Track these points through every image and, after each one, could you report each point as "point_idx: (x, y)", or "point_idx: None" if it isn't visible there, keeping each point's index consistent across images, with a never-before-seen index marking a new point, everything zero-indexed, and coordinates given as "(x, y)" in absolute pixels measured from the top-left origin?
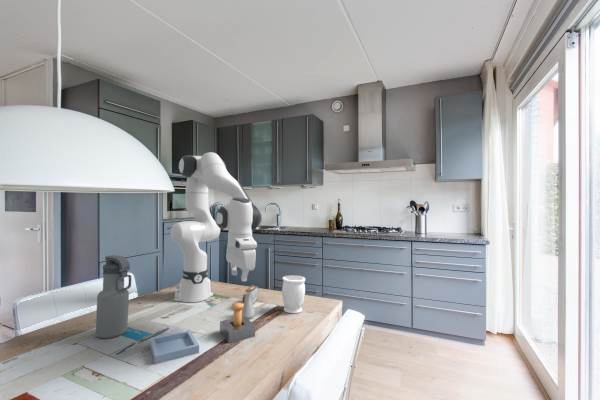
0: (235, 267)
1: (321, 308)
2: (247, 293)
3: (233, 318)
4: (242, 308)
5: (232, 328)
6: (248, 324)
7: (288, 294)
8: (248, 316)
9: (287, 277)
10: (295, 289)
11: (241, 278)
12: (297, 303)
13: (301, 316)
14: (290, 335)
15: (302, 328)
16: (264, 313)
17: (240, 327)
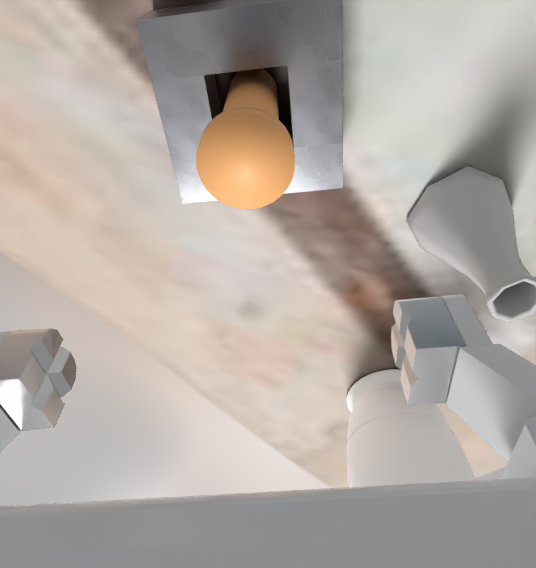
0: (491, 434)
1: (343, 462)
2: (532, 297)
3: (251, 95)
4: (479, 210)
5: (179, 58)
6: None
7: (378, 449)
8: (419, 215)
9: None
10: None
11: (4, 352)
12: (348, 432)
13: (311, 395)
14: (157, 308)
15: (204, 362)
16: (431, 295)
17: (181, 115)
